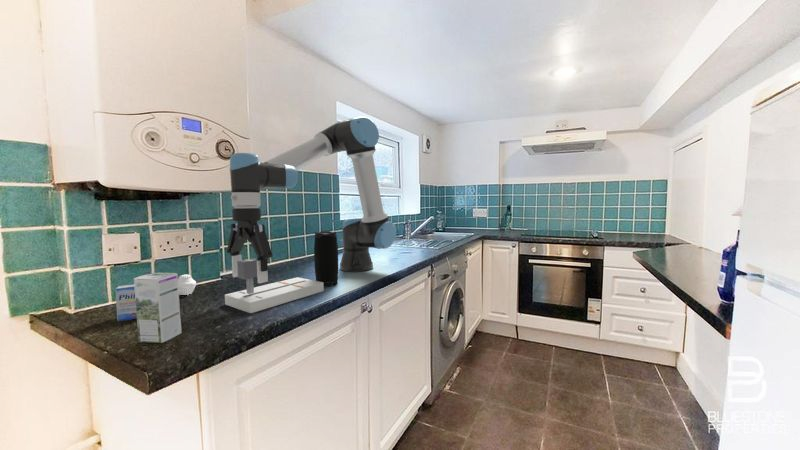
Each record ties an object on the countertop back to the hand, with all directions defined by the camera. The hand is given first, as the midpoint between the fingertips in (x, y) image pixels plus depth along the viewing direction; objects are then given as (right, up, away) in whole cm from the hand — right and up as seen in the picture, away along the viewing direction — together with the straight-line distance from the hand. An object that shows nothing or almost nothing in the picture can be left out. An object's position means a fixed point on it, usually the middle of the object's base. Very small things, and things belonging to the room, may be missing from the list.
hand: (249, 279), depth 92 cm
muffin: (-27, -7, +12) cm, 31 cm away
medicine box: (-26, -9, -8) cm, 29 cm away
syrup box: (-9, -10, -22) cm, 26 cm away
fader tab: (0, -4, 0) cm, 4 cm away
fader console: (+5, -7, +8) cm, 12 cm away
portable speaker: (+17, -6, +24) cm, 30 cm away
